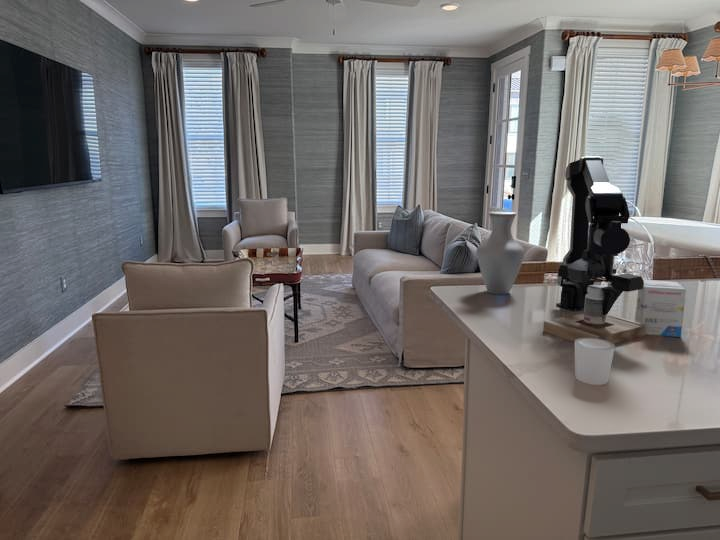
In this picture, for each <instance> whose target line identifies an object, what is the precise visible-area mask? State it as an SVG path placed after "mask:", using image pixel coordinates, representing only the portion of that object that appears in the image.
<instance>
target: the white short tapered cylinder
mask: <svg viewBox="0 0 720 540" xmlns="http://www.w3.org/2000/svg"><path fill="white" fill-rule="evenodd" d="M615 348H616V345H615V344H613V343H611V342H609V341H606V340H602V339H597V338H579V339H576V340H575V342H574V376H575V378H576V380H578V381H579V382H580V383H581V382H582V383H584V384H587V385H591V386H592V385H593V386H601V385H606V384H608V382H609V378H610V373H611V367H612V364H613V358H614V354H615Z"/></svg>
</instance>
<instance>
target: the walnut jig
mask: <svg viewBox="0 0 720 540" xmlns="http://www.w3.org/2000/svg"><path fill="white" fill-rule="evenodd" d="M583 317H584V312H582V313H581V312H580V313H576V314H572V315H567V316H563V317H558V318H553V319H552V318H551V319H544V320H543V328H542V331H543V332H545V333H547V334H549V335H553V336H556V337H558V338H561V339H564V340H567V341H570V342H573V343H575V340H576V339H579V338H597V339H602V340H606V341H609V342H611V343H613V344H614V345H615V344H618V343H623V342H626V341H630V340H633V339H638V338H642V337H645V336H646V334H645V332H646V324H642V323H639V322H635V320H630V319H627V318H623V317H620V316H618V315H617V316H616V315H613V314H609V313H608V314H607V315H606V319H605V323H603V324H592V323H588V322H585V321H584V320H583Z"/></svg>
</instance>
